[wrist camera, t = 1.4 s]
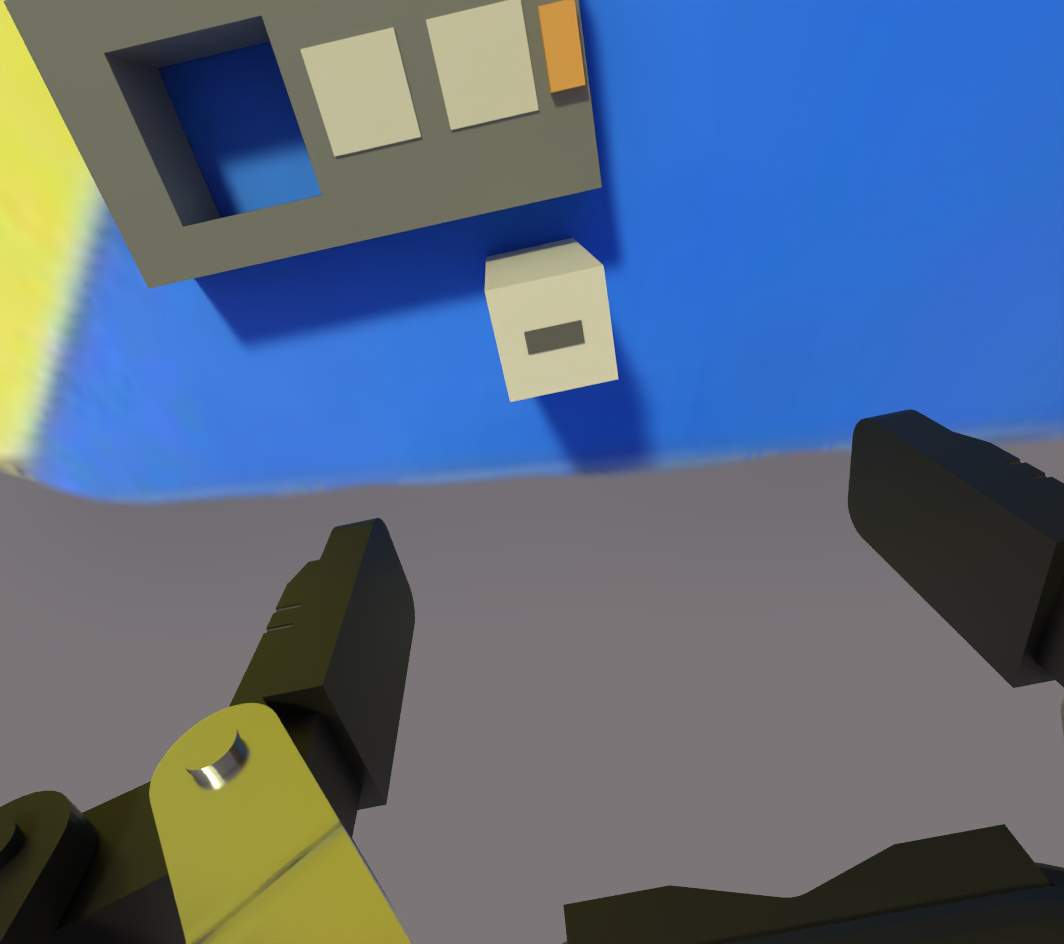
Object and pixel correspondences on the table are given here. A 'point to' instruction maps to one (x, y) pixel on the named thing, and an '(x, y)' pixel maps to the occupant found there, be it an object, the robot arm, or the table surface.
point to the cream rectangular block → (550, 318)
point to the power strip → (323, 115)
